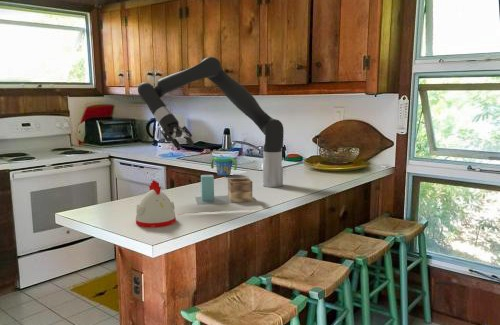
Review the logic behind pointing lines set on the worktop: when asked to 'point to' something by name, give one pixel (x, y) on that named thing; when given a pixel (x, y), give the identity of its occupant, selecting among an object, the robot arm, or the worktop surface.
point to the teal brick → (207, 187)
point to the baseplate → (217, 200)
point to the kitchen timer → (155, 208)
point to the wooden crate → (240, 189)
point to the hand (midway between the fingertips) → (185, 146)
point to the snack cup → (223, 165)
